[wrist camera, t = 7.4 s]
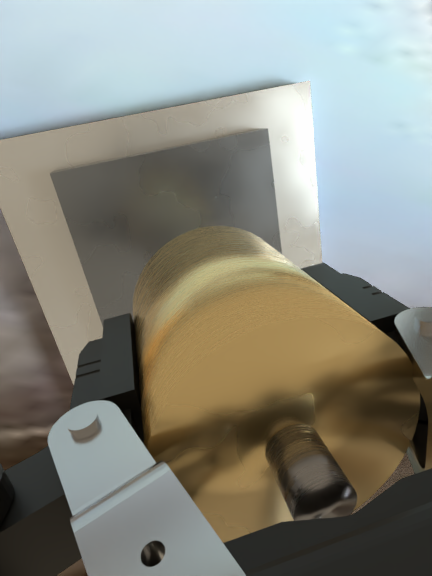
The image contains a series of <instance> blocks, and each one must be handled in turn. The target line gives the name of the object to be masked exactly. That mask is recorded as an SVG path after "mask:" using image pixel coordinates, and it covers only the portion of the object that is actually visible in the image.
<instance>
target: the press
mask: <svg viewBox="0 0 432 576" xmlns="http://www.w3.org/2000/svg"><path fill="white" fill-rule="evenodd" d="M0 208H1V211H2V213H3V216H4V218H5V220H6V223H7V225H8V228H9V230H10V233H11V235H12V237H13V240H14V242H15V245H16V247H17V250H18V252H19V254H20V257H21V259H22V262H23V264H24V266H25V269H26V271H27V274H28V276H29V279H30V281H31V283H32V286H33V288H34V291H35V293H36V296H37V298H38V300H39V303H40V305H41V308H42V310H43V312H44V315H45V317H46V320H47V322H48V325H49V327H50V329H51V332H52V334H53V337H54V339H55V342H56V344H57V346H58V349H59V351H60V354H61V356H62V358H63V361H64V363H65V366H66V368H67V371H68V373H69V375H70V378H71V380H72V383H73V385H74V382H75V378H76V370H77V368H78V367H77V364H78V358H79V354H80V352H81V351H82V350H83V348H84V347H85V346H86V344H87V343H88V342H89V341H93V340H97V339H101V338H102V336H103V322H104V320H105V319H109V318H112V317H116V316H120V315H124V314H128V313H130V314H131V316H132V319H133V322H134V318H133V296H134V292H135V287H136V284H137V281H138V279H139V276H140V274H141V273H142V271H143V269H144V267H145V266H146V264H147V263H148V261H149V260H150V259H151V257H152V256H153V255H154V254H155V253H156V252H157V251H158V250H159V249H160V248H162V247H163V246H164V245H165V244H166V243H168V242H169V241H171V240H173V239H174V238H176V237H177V236H179V235H182V234H184V233H186V232H188V231H192V230H195V229H198V228H203V227H209V226H227V227H234V228H239V229H243V230H245V231H248V232H250V233H253V234H254V235H256V236H258V237H260V238H261V239H262V240H264V241H265V242H266V243H268V244H269V245H270V246H272V247H273V248H274V249H275V250H277V251H278V252H279V253H281V254H282V255H283V256H285V257H286V258H287V259H288V260H290V261H291V262H292V263H294V264H295V265H296V266H297V267H299V268H304V267H308V266H312V265H316V264H319V263H322V253H321V238H320V223H319V208H318V193H317V178H316V163H315V148H314V133H313V118H312V103H311V88H310V81H305V82H300V83H295V84H290V85H284V86H279V87H274V88H269V89H264V90H258V91H253V92H248V93H243V94H237V95H232V96H227V97H222V98H217V99H211V100H206V101H201V102H196V103H190V104H185V105H180V106H175V107H170V108H164V109H159V110H154V111H149V112H143V113H138V114H133V115H128V116H123V117H117V118H112V119H107V120H102V121H96V122H91V123H86V124H81V125H75V126H70V127H65V128H60V129H55V130H49V131H44V132H39V133H34V134H28V135H23V136H18V137H13V138H8V139H2V140H0Z"/></svg>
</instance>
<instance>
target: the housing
mask: <svg viewBox="0 0 432 576" xmlns="http://www.w3.org/2000/svg"><path fill="white" fill-rule="evenodd" d="M133 318H134V329H135V341H136V353H137V364H138V376H139V388H140V400H141V412H142V425H143V437H144V446H145V447H146V449H147V450H148V452H149V453H150V454H151V456H152V457H153V459H154V460H155V462H156V463H157V462H159V461H160V460H163V461H164V462H165V463H166V464H167V465H168V467H169V468H170V469H171V471H172V472H173V473H174V475H175V476H176V478H177V479H178V480H179V482H180V483H181V485H182V486H183V487H184V489H185V490H186V492H187V493H188V494H189V496H190V497H191V499H192V500H193V502H194V503H195V504H196V506H197V507H198V509H199V510H200V511H201V513H202V514H203V516H204V517H205V518H206V520H207V521H208V523H209V524H210V525H211V527H212V528H213V530H214V531H215V532H216V534H217V535H218V537H219V538H220V539H221V541H222V542H223V543H225V542H227V541H230V540H233V539H236V538H239V537H241V536H244V535H247V534H250V533H252V532H255V531H258V530H261V529H264V528H266V527H269V526H272V525H275V524H278V523H280V522H286V521H298V520H310V519H321V518H333V517H344V516H350V515H351V513H352V512H353V511H354V510H356V509H357V508H358V507H360V506H361V505H362V504H363V503H364V502H366V501H367V500H368V499H369V498H370V497H371V496H373V495H374V493H375V492H376V491H377V490H378V489H379V488H380V487H381V486H382V485H383V484H384V483H385V482H386V481H387V479H388V478H389V477H390V476H391V475H392V473H393V472H394V471H395V469H396V468H397V466H398V465H399V463H400V462H401V460H402V459H403V457H404V455H405V453H406V451H407V449H408V447H409V441H410V440H412V438H413V435H414V433H415V429H416V426H417V422H418V418H419V410H420V392H419V390H418V388H417V386H416V384H415V382H414V380H413V378H412V372H413V365H412V363H411V361H410V360H409V358H408V356H407V355H406V353H405V352H404V351H403V350H402V349H401V347H400V346H399V345H398V344H397V343H396V342H395V341H393V340H392V339H391V338H390V337H388V336H387V335H386V334H385V333H383V332H382V331H381V330H379V329H378V328H377V327H375V326H374V325H373V324H372V323H370V322H369V321H368V320H366V319H365V318H364V317H362V316H361V315H360V314H359V313H357V312H356V311H355V310H353V309H352V308H351V307H349V306H348V305H347V304H346V303H344V302H343V301H342V300H340V299H339V298H338V297H336V296H335V295H334V294H333V293H331V292H330V291H329V290H327V289H326V288H325V287H323V286H322V285H321V284H320V283H318V282H317V281H316V280H314V279H313V278H312V277H310V276H309V275H308V274H307V273H305V272H304V271H303V270H301V269H300V268H299V267H297V266H296V265H295V264H294V263H292V262H291V261H290V260H288V259H287V258H286V257H285V256H283V255H282V254H281V253H279V252H278V251H277V250H275V249H274V248H273V247H272V246H270V245H269V244H268V243H266V242H265V241H264V240H262V239H261V238H260V237H258V236H256V235H254V234H253V233H250V232H248V231H245V230H243V229H239V228H234V227H227V226H209V227H203V228H198V229H195V230H192V231H188V232H186V233H184V234H182V235H179V236H177V237H176V238H174V239H173V240H171V241H169V242H168V243H166V244H165V245H164V246H163V247H162V248H160V249H159V250H158V251H157V252H156V253H155V254H154V255H153V256H152V257H151V259H150V260H149V261H148V263H147V264H146V266H145V267H144V269H143V271H142V273H141V274H140V276H139V279H138V281H137V284H136V287H135V292H134V296H133Z"/></svg>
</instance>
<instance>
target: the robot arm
mask: <svg viewBox="0 0 432 576" xmlns="http://www.w3.org/2000/svg"><path fill="white" fill-rule="evenodd" d="M300 269H301V270H303V271H304V272H305V273H307V274H308V275H309V276H310V277H312V278H313V279H314V280H316V281H317V282H318V283H320V284H321V285H322V286H323V287H325V288H326V289H327V290H329V291H330V292H331V293H333V294H334V295H335V296H336V297H338V298H339V299H340V300H342V301H343V302H344V303H346V304H347V305H348V306H349V307H351V308H352V309H353V310H355V311H356V312H357V313H359V314H360V315H361V316H362V317H364V318H365V319H366V320H368V321H369V322H370V323H372V324H373V325H374V326H375V327H377V328H378V329H379V330H381V331H382V332H383V333H385V334H386V335H387V336H388V337H390V338H391V339H392V340H393V341H395V342H396V343H397V344H398V345H399V346H400V347H401V349H402V350H403V351H404V352H405V353H406V355H407V356H408V358H409V360H410V361H411V363H412V365H413V372H412V378H413V380H414V382H415V384H416V386H417V388H418V390H419V392H420V410H419V418H418V422H417V426H416V429H415V433H414V435H413V438H412V440H410V441H409V447H408V449H407V451H406V452H407V455H408V457H409V460H410V462H411V465H412V468H413V470H414V473H415V474H414V475H411V476H408V477H406V478H403V479H400V480H399V481H398V482H396V483H395V484H394V485H392V486H391V487H390V488H388V489H387V490H386V491H384V492H383V493H382V494H380V495H379V496H378V497H376V498H375V499H374V500H372V501H371V502H370V503H368V504H367V505H366V506H364V507H363V508H362V509H360V510H359V511H358V512H356V513H355V514H352V515H350V516H344V517H333V518H321V519H310V520H298V521H286V522H280V523H278V524H275V525H272V526H269V527H266V528H264V529H261V530H258V531H255V532H252V533H250V534H247V535H244V536H241V537H239V538H236V539H233V540H230V541H227V542H225V543H223V542H222V541H221V539H220V538H219V537H218V535H217V534H216V532H215V531H214V530H213V528H212V527H211V525H210V524H209V523H208V521H207V520H206V518H205V517H204V516H203V514H202V513H201V511H200V510H199V509H198V507H197V506H196V504H195V503H194V502H193V500H192V499H191V497H190V496H189V494H188V493H187V492H186V490H185V489H184V487H183V486H182V485H181V483H180V482H179V480H178V479H177V478H176V476H175V475H174V473H173V472H172V471H171V469H170V468H169V467H168V465H167V464H166V463H165V462H164V461H163V460H160V461H159V462H157V463H156V462H155V460H154V459H153V457H152V456H151V454H150V453H149V452H148V450H147V449H146V447H145V446H144V437H143V425H142V412H141V400H140V388H139V376H138V364H137V353H136V341H135V329H134V322H133V319H132V316H131V314H130V313H128V314H124V315H120V316H116V317H112V318H109V319H105V320H104V322H103V336H102V338H101V339H97V340H93V341H89V342H88V343H87V344H86V346H85V347H84V348H83V350H82V351H81V352H80V354H79V358H78V364H77V367H78V368H77V370H76V378H75V382H74V388H73V394H72V400H71V406H70V411H68V412H67V413H65V414H64V415H63V416H62V417H61V418H59V420H58V421H57V422H56V423H55V424H54V425H53V427H52V428H51V430H50V432H49V435H48V446H47V447H46V448H44V449H43V450H41V451H40V452H38V453H37V454H35V455H33V456H31V457H29V458H28V459H26V460H24V461H22V462H20V463H18V464H16V465H15V466H13V467H11V468H9V469H7V470H5V471H4V469H3V467H2V465H1V464H0V576H57V575H58V574H59V573H61V572H62V571H64V570H65V569H66V568H68V567H69V566H71V565H72V564H74V563H75V562H77V561H78V560H80V559H81V558H82V559H83V562H84V565H85V568H86V571H87V574H88V576H432V307H418V308H411V309H410V308H408V307H406V306H405V305H403V304H402V303H400V302H398V301H397V300H395V299H394V298H392V297H390V296H389V295H387V294H385V293H384V292H383V293H382V292H381V290H379V289H377V288H376V287H374V286H373V287H372V285H371V284H369V283H368V282H366V281H364V280H363V279H361V278H359V277H355V276H352V275H348V274H340V273H339V272H337V271H336V270H334V269H333V268H331V267H330V266H328V265H327V264H325V263H319V264H316V265H312V266H308V267H304V268H300Z"/></svg>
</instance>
